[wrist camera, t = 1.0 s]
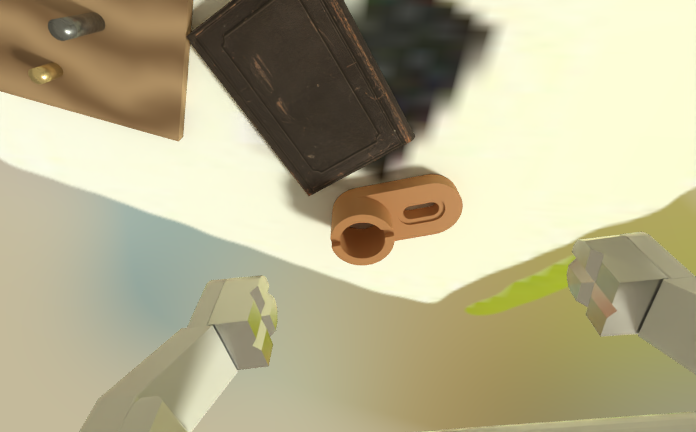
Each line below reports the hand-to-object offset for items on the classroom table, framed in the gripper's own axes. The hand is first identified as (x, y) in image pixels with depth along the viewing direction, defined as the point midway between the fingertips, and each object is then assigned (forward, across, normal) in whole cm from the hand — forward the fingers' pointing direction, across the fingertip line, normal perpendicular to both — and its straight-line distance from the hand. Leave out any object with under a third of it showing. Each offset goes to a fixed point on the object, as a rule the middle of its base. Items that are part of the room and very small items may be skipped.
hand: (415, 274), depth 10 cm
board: (+37, +29, -6) cm, 48 cm away
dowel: (+36, +35, -2) cm, 50 cm away
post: (+36, +28, -6) cm, 46 cm away
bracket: (+38, -1, +22) cm, 44 cm away
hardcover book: (+38, +7, +4) cm, 39 cm away
